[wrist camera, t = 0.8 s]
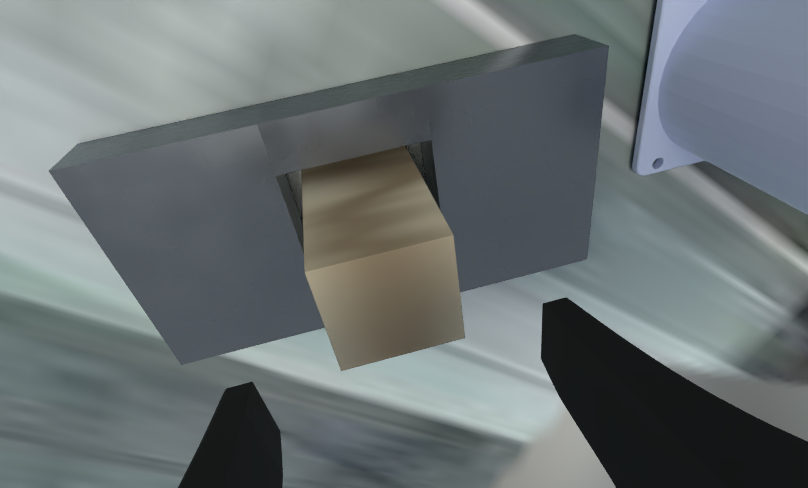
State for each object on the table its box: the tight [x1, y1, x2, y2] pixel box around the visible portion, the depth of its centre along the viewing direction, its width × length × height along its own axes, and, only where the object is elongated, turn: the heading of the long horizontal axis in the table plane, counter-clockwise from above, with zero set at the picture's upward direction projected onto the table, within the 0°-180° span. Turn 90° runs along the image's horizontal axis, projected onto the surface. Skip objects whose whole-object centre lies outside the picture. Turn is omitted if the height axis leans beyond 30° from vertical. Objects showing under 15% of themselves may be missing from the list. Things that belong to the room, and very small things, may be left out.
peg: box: [302, 146, 465, 371], centre depth 16 cm, size 4×4×7 cm
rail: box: [49, 35, 609, 365], centre depth 18 cm, size 18×9×2 cm, turn 99°
